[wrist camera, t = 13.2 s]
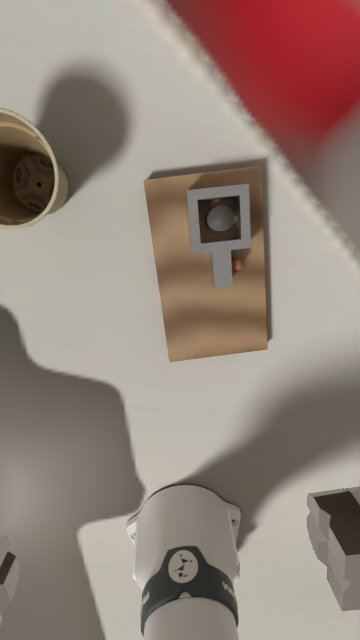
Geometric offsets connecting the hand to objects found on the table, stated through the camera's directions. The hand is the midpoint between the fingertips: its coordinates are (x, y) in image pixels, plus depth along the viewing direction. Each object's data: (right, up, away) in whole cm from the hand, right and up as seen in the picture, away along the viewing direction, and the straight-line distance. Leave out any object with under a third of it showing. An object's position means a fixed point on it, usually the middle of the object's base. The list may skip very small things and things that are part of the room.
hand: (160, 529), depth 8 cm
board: (+4, +12, +29) cm, 32 cm away
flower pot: (-15, +21, +26) cm, 36 cm away
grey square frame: (+5, +15, +27) cm, 31 cm away
